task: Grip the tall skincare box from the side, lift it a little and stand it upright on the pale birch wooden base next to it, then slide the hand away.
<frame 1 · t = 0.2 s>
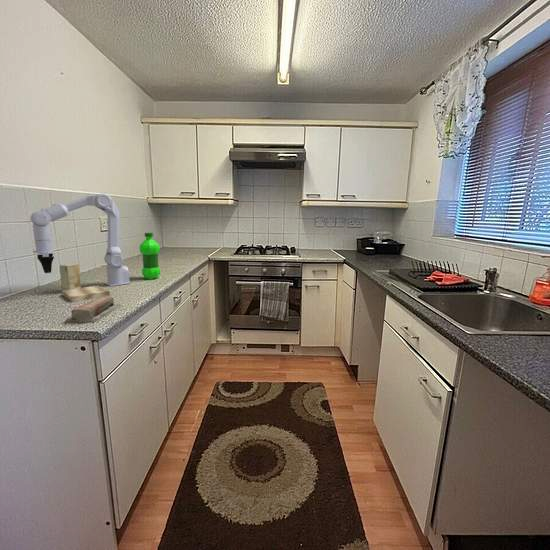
hand: (47, 271, 129), 10 cm above the worktop, tool pointing down, fingers open, 7 cm apart
wooden base: (86, 295, 128), on the worktop
brown rectangular block: (96, 314, 106), on the worktop
skincare box: (72, 291, 135), on the worktop
plastic bottle: (151, 278, 164), on the worktop
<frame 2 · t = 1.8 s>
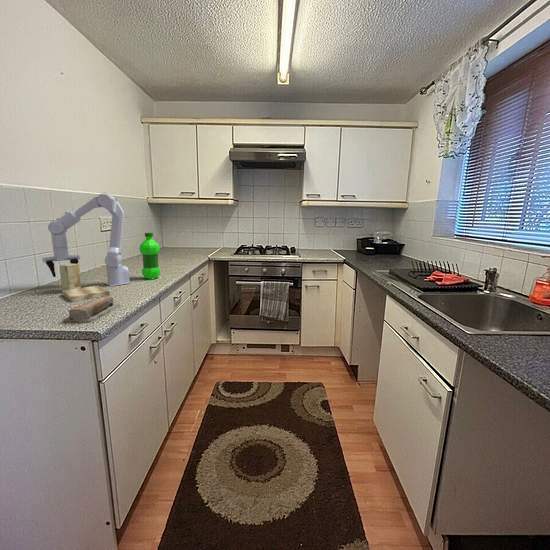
hand: (64, 275, 141), 5 cm above the worktop, tool pointing down, fingers open, 7 cm apart
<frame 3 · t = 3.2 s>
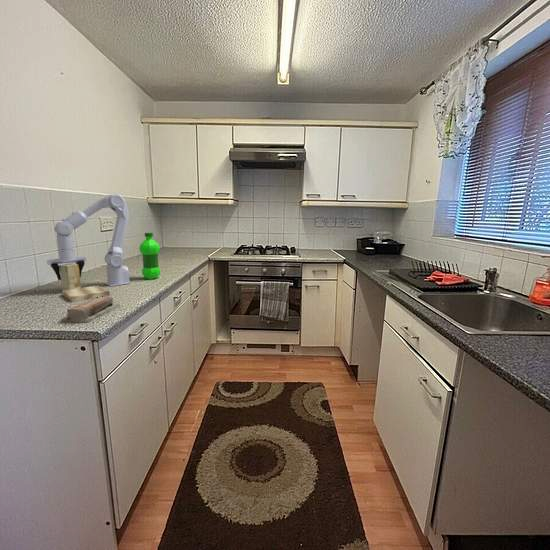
hand: (69, 278, 135), 5 cm above the worktop, tool pointing down, fingers open, 7 cm apart
skincare box: (72, 291, 135), on the worktop, touching gripper
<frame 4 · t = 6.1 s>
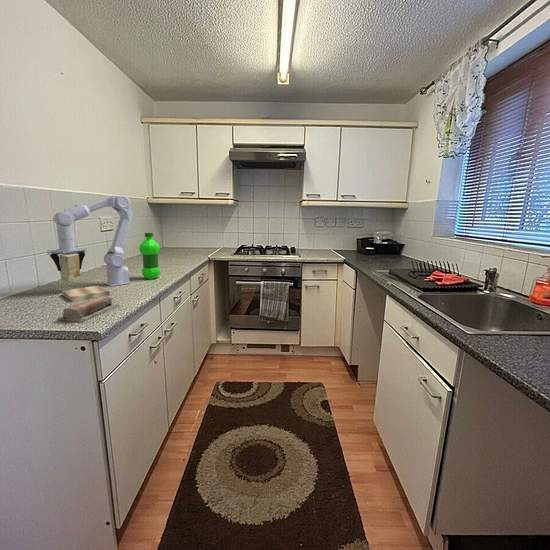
hand: (69, 269, 133), 10 cm above the worktop, tool pointing down, fingers closed on skincare box, 7 cm apart
skincare box: (71, 280, 134), point 5 cm above the worktop, touching gripper
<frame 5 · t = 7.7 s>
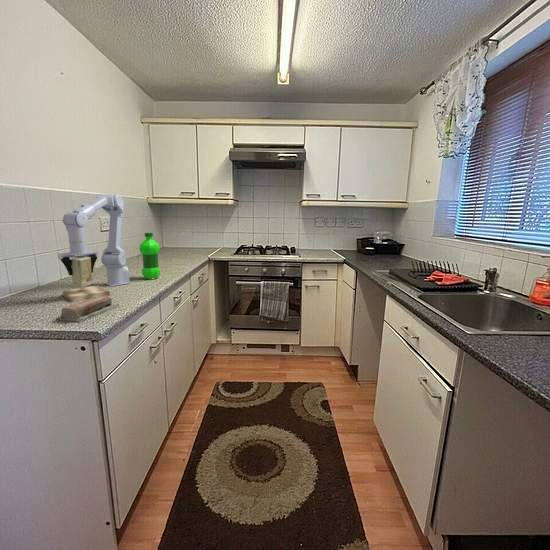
hand: (81, 273, 125), 10 cm above the worktop, tool pointing down, fingers closed on skincare box, 7 cm apart
skincare box: (82, 285, 126), point 5 cm above the worktop, touching gripper
when the fingers open (9 cm above the worktop, at t = 8.7 s): skincare box drops 1 cm, resting on wooden base.
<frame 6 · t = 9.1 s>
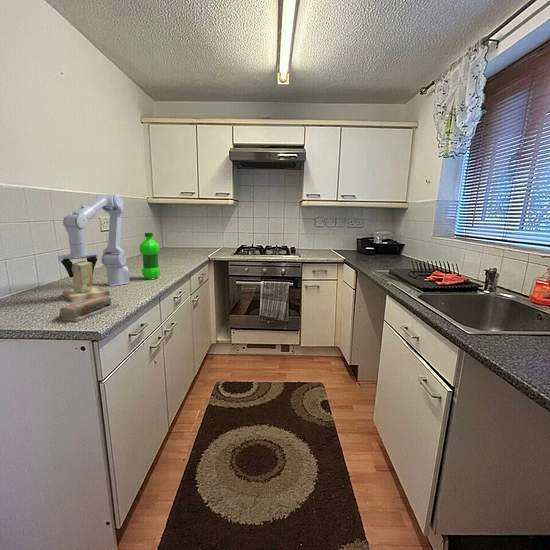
hand: (81, 275, 126), 9 cm above the worktop, tool pointing down, fingers open, 7 cm apart
skincare box: (83, 290, 127), point 2 cm above the worktop, touching gripper, wooden base
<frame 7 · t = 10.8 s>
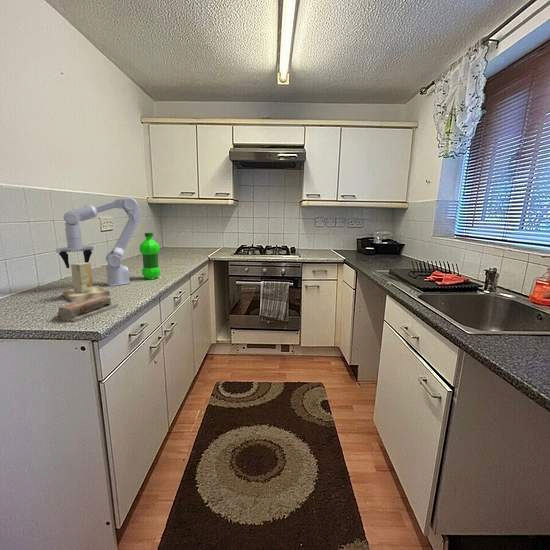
hand: (77, 266, 139), 10 cm above the worktop, tool pointing down, fingers open, 7 cm apart
skincare box: (84, 291, 127), point 2 cm above the worktop, touching wooden base
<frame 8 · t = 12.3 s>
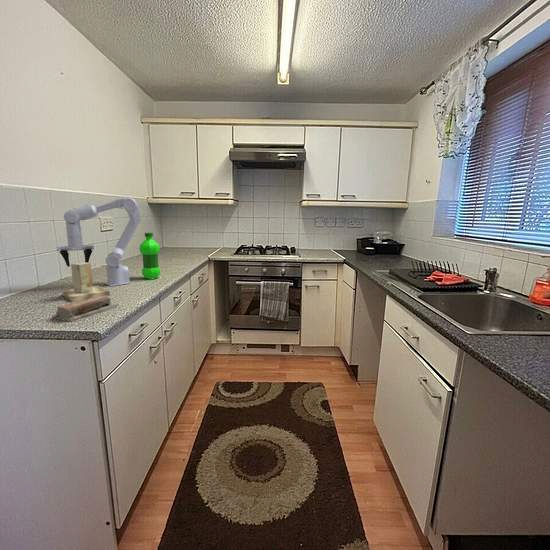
hand: (77, 265, 140), 10 cm above the worktop, tool pointing down, fingers open, 7 cm apart
at the end: skincare box inside the target area on the wooden base (0.7 cm from its centre), point 1.8 cm above the wooden base's base; skincare box tilted 0°; the gripper is holding nothing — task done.
